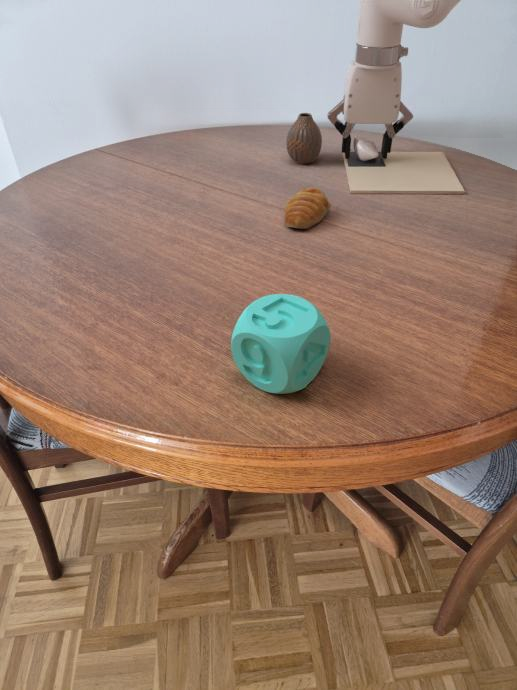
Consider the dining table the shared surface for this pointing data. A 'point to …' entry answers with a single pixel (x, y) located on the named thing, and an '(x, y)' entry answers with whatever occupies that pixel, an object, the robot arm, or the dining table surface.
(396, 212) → the dining table surface
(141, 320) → the dining table surface
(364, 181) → the mat
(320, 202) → the pastry
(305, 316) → the decorative dice
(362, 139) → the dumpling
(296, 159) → the vase
